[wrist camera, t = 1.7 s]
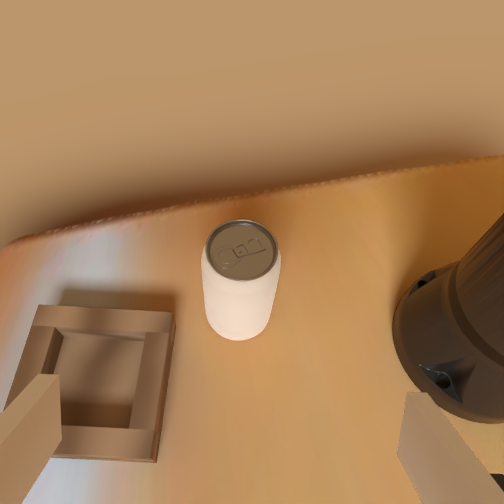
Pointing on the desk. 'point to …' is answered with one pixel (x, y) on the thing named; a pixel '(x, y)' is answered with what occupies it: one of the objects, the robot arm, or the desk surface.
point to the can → (240, 278)
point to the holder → (102, 378)
